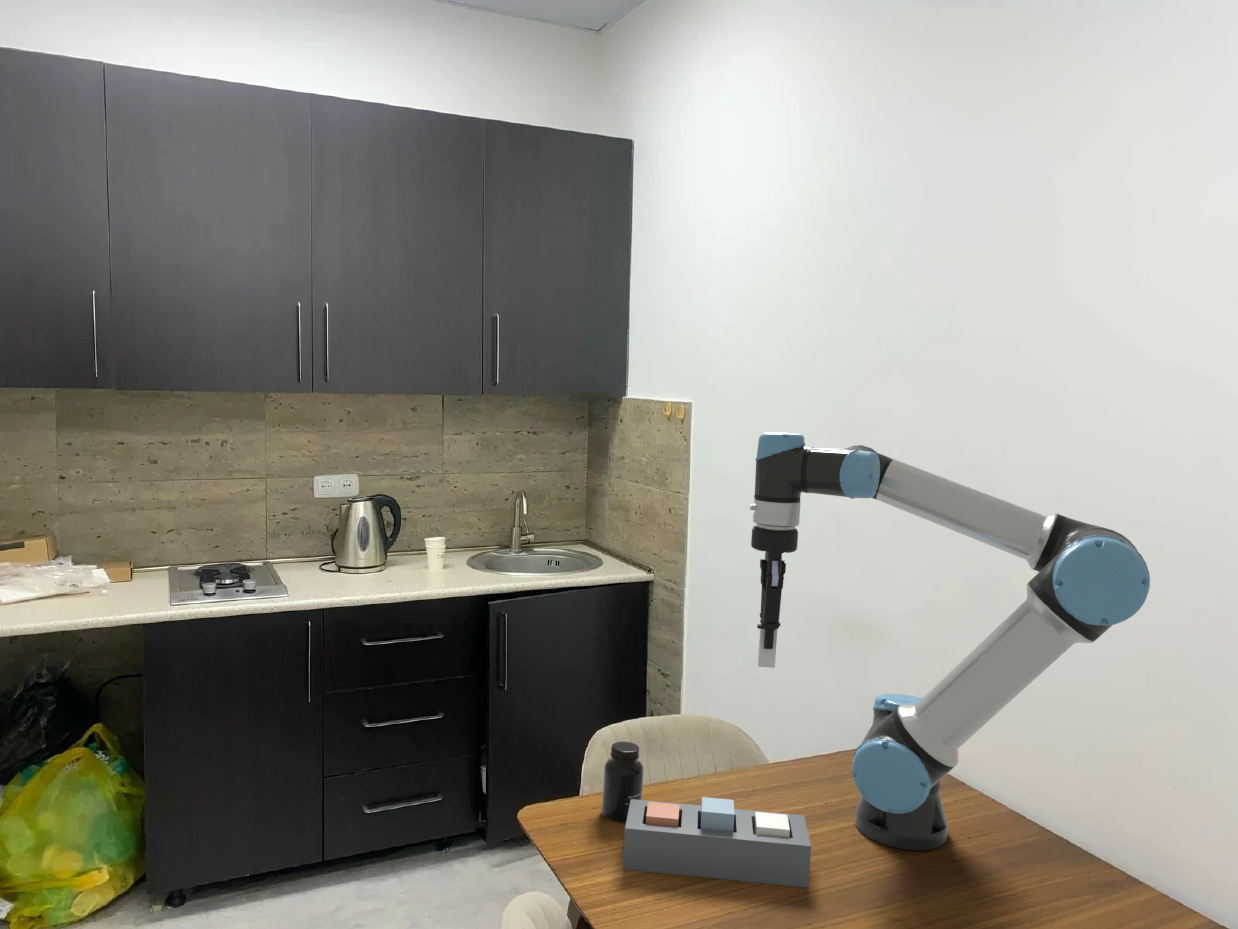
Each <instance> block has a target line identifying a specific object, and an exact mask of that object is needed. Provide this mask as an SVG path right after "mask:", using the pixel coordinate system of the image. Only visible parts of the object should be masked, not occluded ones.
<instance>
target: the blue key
mask: <svg viewBox="0 0 1238 929" xmlns="http://www.w3.org/2000/svg"><path fill="white" fill-rule="evenodd" d="M700 806H701V823H700V829H703V830H714V831H724V832H733V830H734V809H735V801H734V799H728V798H727V799H726V798H717V797H708V796H707V797H706V796H702V797H701V805H700Z"/></svg>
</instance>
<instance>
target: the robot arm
mask: <svg viewBox="0 0 1238 929" xmlns="http://www.w3.org/2000/svg"><path fill="white" fill-rule="evenodd" d="M757 442H758V444H757V452H756V458H755V477H754V479H755V482H754V495H753V496H754V497H753V498H754V499H753V502H754V503H753V504H750V505H749V510H750V511H753V516H752V522H753V523H754V525H753V526H752V527H751V539H750V541H751V542H750V546H751V548H753V549H754V550H756V551H761V552H765V554H764V558H760V561H759V567H760V568H759V569H760V584H761V592H760V593H761V594H760V595H761V596H760V598H761V600H760V613H759V618H760V621H759V622H760V623H757V630H759V638H758V639H759V641H758V655H757V656H758V658H757V667H759V668H770V669H771V668H772V669H775V668H776V655H777V654H776V652H777V641H778V640H777V639H778V638H777V637H778V629H780V627H781V622H780V612H781V601H782V590H783V588H784V580H785V576H784V575H785V574H786V571H787V570H786V569H787V563H786V562H785V560H783V554H784V553H787V554H789V553H794V552H796V551H797V550H798V541H799V540H798V539H799V530H798V529H797V527H798V526H799V525H800V515H801V495H802V493H804V494H815V495H816V494H817V495H818V494H819V495H825V496H832V497H833V496H835V497H844V498H848V499H853V500H854V499H873V500H876V501H879V502H882V503H885V504H886V505H889V506H892V507H894V508H897V509H900V510H901V511H904V512H906V513H909V514H912V515H914V516H917V517H919V518H922V519H924V520H927V521H929V522H932V523H934V524H937V525H939V526H942V527H944V528H946V529H949V530H951V531H954V532H956V533H958V534H961V535H964V536H966V537H969V538H970V539H971V538H972V539H973V540H976V541H978V542H981V543H984V544H986V545H988V546H991V547H993V548H996V549H997V550H1001V551H1003V552H1005V553H1008V554H1010V555H1013V556H1015V557H1018V558H1021V559H1022V560H1023V559H1024V560H1026V562H1027V564H1028V565H1029V567H1030V569H1031V570H1034V571H1036V572H1038V573H1036V574H1035V575H1034V577H1032V578H1031V579H1030V580H1029V581H1028V583H1026V599H1025V601H1023V602H1022V603H1021V604H1020V605H1019V606H1018V607H1017V608H1016V609H1015V610H1014V611H1013V612H1012V613H1011V614H1010V615H1009V616H1007V618H1006V619H1005V620H1004V621H1003V622H1001V623H1000V624H999V625H998V626H997V627H996V628H995V629H994V630H992V631H991V633H990V634H988V636H987V637H985V638H984V639H983V640H982V641H981V642H980V643H979V644H978V645H977V646H976V647H975V648H974V649H973V650H972V651H971V652H970V653H969V654H968V655H966V656H965V657H964V658H963V659H962V660H961V661H960V662H959V663H958V664H957V665H956V666H955V667H953V669H952V670H950V672H949V673H947V674H946V675H945V676H944V677H943V678H942V679H940V681H939V682H937V684H936V685H934V687H933V688H932V689H931V690H930V691H928V692H927V694H925V695H924V696H923V697H921V696H920V697H919V696H915V695H909V694H901V693H882V694H879V695H877V696H876V697H875V700H874V704H873V707H872V711H873V716H872V717H873V718H872V725H871V727H870V728H869V730H868V731H867V733H866V735H865V737H864V738H863V740H862V742H861V743H860V744H859V746H857V747H856V749H855V752H854V754H853V757H852V758H853V759H852V765H851V773H852V779H853V781H854V782H853V783H854V785H855V787H856V789H857V791H858V792H859V794H860V795H861V796H860V798H859V800H858V803H857V805H856V808H855V818H854V822H855V825H856V828H857V829H858V830H859V831H860V832H861V833H862V834H864V836H866V837H868V839H869V838H870V839H871V840H873V841H875V842H877V843H880V844H881V845H885V846H888V847H892V848H895V849H899V850H900V849H901V850H907V851H916V852H917V851H931V850H934V849H938V848H940V847H942V846H943V845H944V844H946V842H947V839H948V838H947V837H948V829H949V828H948V821H947V818H946V813H945V812H946V811H945V809H944V805H943V801H942V797H941V796H942V795H941V794H940V792H941V788H940V787H941V780H942V779H943V778H944V777H945V776H946V775H948V774H949V773H950V771H952V770H953V769H954V768H955V767H956V766H957V765H958V764H959V748H960V747H961V746H963V745H964V744H965V743H966V742H967V741H968V740H969V739H970V738H972V737H973V735H975V734H976V733H977V732H978V731H979V730H980V729H982V728H983V727H984V726H985V725H986V724H988V722H989V721H991V719H993V718H994V717H995V716H996V715H997V714H999V712H1000V711H1002V709H1003V708H1005V707H1006V706H1007V705H1008V704H1009V703H1010V702H1011V701H1013V700H1014V699H1015V698H1016V697H1017V696H1018V695H1019V694H1020V693H1021V692H1022V691H1024V690H1025V689H1026V688H1027V687H1028V686H1030V684H1031V683H1032V682H1033V681H1035V680H1036V679H1037V678H1038V677H1039V676H1040V675H1041V674H1042V673H1043V672H1045V671H1046V670H1047V668H1049V667H1050V666H1051V665H1052V664H1054V662H1056V661H1057V660H1058V659H1059V658H1060V657H1061V656H1062V655H1063V654H1065V653H1066V652H1068V650H1069V649H1070V648H1071V647H1072V646H1073V645H1075V644H1077V643H1078V644H1079V643H1081V644H1082V643H1083V644H1085V643H1086V644H1088V643H1089V644H1093V643H1095V641H1096V640H1098V638H1100V637H1101V636H1102V635H1104V633H1106V632H1107V631H1108V630H1110V628H1111V627H1112V626H1114V625H1117V624H1120V623H1123V622H1125V621H1126V620H1129V619H1130V618H1132V617H1133V616H1134V615H1136V614H1137V613H1138V612H1139V610H1140V609H1141V608H1142V607H1143V606H1144V604H1145V602H1146V600H1147V597H1148V594H1149V591H1150V587H1151V575H1150V570H1149V568H1148V565H1147V562H1146V560H1145V559H1144V556H1143V555H1142V554H1141V553H1140V552H1139V550H1138V548H1136V546H1135V545H1134V544H1133V543H1132V541H1131V540H1129V539H1128V538H1127V537H1126V536H1124V535H1123V534H1121V533H1120V532H1118V531H1115V530H1113V529H1109V528H1106V527H1102V526H1099V525H1095V524H1091V523H1086V522H1083V521H1080V520H1076V519H1073V518H1070V517H1068V516H1064V515H1061V514H1059V513H1057V512H1055V513H1052V514H1050V515H1043V514H1041V513H1039V512H1036V511H1033V510H1030V509H1027V508H1025V507H1023V506H1019V505H1017V504H1014V503H1013V502H1012V503H1011V502H1009V501H1006V500H1004V499H1000V498H999V497H996V496H994V495H992V494H991V495H990V494H988V493H986V492H985V493H984V492H982V491H979V490H977V489H975V488H971V487H969V486H966V485H965V484H961V483H958V482H956V481H954V480H950V479H947V478H945V477H942V476H940V475H937V474H935V473H933V472H929V471H927V470H924V469H922V468H919V467H917V466H913V465H911V464H909V463H906V462H903V461H900V460H898V459H895V458H891V457H889V456H886V455H884V454H881V453H878V452H877V450H875V449H874V448H871V447H869V446H865V445H856V444H855V445H851V446H848V447H843V448H828V447H814V446H808V445H806V442H805V436H804V435H803V434H801V433H793V432H792V433H791V432H777V431H767V432H764V433H762V434H760V435H759V437H758V441H757Z"/></svg>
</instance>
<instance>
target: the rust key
mask: <svg viewBox="0 0 1238 929" xmlns="http://www.w3.org/2000/svg"><path fill="white" fill-rule="evenodd" d="M657 802H658V801H657ZM657 802H648V807H647V814H646V824H651V825H662V826H672V827H678V823H679V805H678V804H668V803H669V802H668V803H657Z"/></svg>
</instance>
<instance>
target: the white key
mask: <svg viewBox="0 0 1238 929" xmlns="http://www.w3.org/2000/svg"><path fill="white" fill-rule="evenodd" d="M774 813H775V812H774ZM774 813H763V812H755V823H754V834H755V835H766V836H776V837H786V838H789V835H790V828H789V822H788V817H787V815H785V814H786V813H785V814H774Z"/></svg>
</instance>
